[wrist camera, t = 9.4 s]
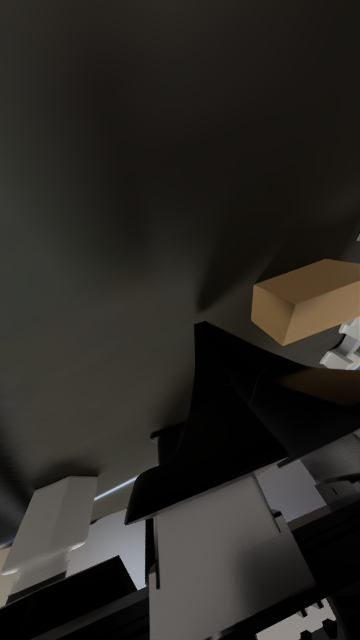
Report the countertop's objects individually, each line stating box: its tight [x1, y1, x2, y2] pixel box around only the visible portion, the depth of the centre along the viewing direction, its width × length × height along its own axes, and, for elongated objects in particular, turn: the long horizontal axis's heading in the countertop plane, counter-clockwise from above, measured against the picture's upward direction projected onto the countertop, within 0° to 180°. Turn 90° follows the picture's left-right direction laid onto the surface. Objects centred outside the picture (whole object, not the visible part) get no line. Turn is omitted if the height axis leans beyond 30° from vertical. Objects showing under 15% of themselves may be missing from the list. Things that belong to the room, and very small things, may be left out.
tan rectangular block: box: [251, 259, 360, 346], centre depth 10 cm, size 4×6×4 cm, turn 105°
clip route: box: [319, 323, 360, 370], centre depth 17 cm, size 12×4×2 cm, turn 11°
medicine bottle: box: [1, 476, 98, 605], centre depth 20 cm, size 7×7×12 cm
